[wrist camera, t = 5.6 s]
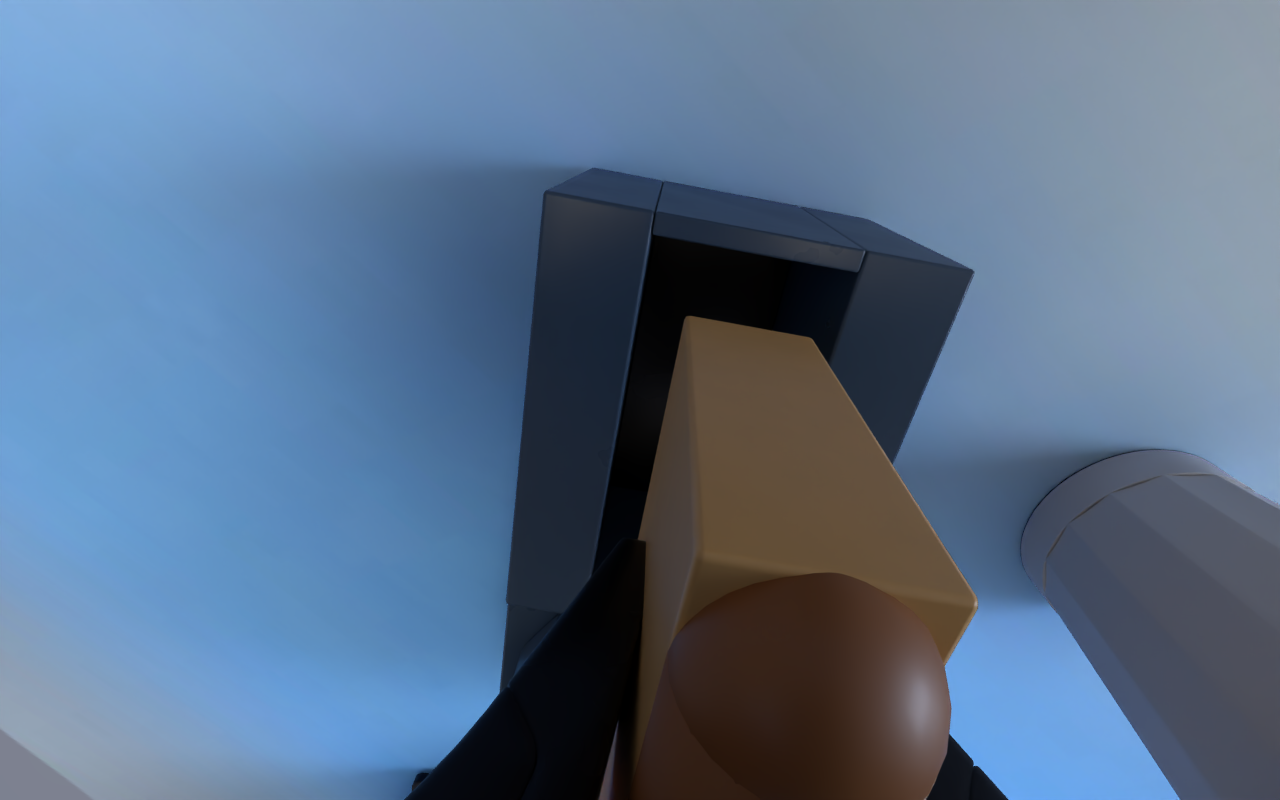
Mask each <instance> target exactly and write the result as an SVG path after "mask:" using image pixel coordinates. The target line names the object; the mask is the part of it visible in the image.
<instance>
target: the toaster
mask: <svg viewBox="0 0 1280 800" xmlns="http://www.w3.org/2000/svg"><path fill="white" fill-rule="evenodd" d="M973 276H974V271H973V270H972V269H970V268H968V267H966V266H964V265H962V264H959V263H957V262H955V261H953V260H951V259H949V258H947V257H945V256H943V255H941V254H939V253H937V252H935V251H933V250H931V249H928V248H926V247H924V246H922V245H920V244H918V243H916V242H914V241H912V240H910V239H908V238H906V237H904V236H902V235H900V234H897V233H895V232H893V231H891V230H889V229H887V228H885V227H883V226H881V225H879V224H877V223H875V222H873V221H871V220H869V219H864V218H859V217H853V216H848V215H843V214H837V213H832V212H827V211H821V210H816V209H811V208H805V207H798V206H795V205H790V204H784V203H779V202H774V201H768V200H763V199H758V198H752V197H747V196H742V195H736V194H731V193H726V192H720V191H715V190H710V189H704V188H699V187H694V186H688V185H683V184H678V183H672V182H667V181H664V183H663V182H662V181H661V180H656V179H651V178H645V177H640V176H635V175H629V174H624V173H619V172H613V171H608V170H603V169H597V168H592V169H590V170H588V171H586V172H584V173H582V174H580V175H577V176H575V177H573V178H571V179H569V180H567V181H565V182H563V183H561V184H559V185H557V186H555V187H553V188H550V189H548V190H546V191H545V192H544V194H543V205H542V216H541V226H540V237H539V248H538V259H537V270H536V281H535V292H534V303H533V314H532V324H531V335H530V346H529V357H528V368H527V379H526V390H525V401H524V411H523V422H522V433H521V444H520V455H519V466H518V477H517V488H516V499H515V509H514V520H513V531H512V542H511V553H510V564H509V575H508V586H507V597H506V602H507V604H509V605H515V606H521V607H527V608H532V609H538V610H544V611H550V612H556V613H561V614H563V612H564V611H565V610H566V608H567V607H568V606H569V605H570V603H571V602H572V601H573V600H574V598H575V597H576V596H577V594H578V593H579V592H580V591H581V589H582V588H583V587H584V585H585V584H586V583H587V582H588V580H589V579H590V578H591V577H592V575H593V574H594V573H595V571H596V570H597V569H598V568H599V566H600V565H601V564H602V563H603V561H604V560H605V559H606V557H607V556H608V555H609V554H610V552H611V551H612V550H613V548H614V547H615V546H616V545H617V543H618V542H619V541H620V540H621V539H622V538H632V539H637V540H638V537H639V532H640V527H641V523H642V518H643V513H644V508H645V504H646V499H647V494H648V489H649V485H650V480H651V475H652V471H653V466H654V461H655V456H656V452H657V447H658V442H659V437H660V433H661V428H662V423H663V418H664V414H665V409H666V404H667V399H668V395H669V390H670V385H671V380H672V376H673V371H674V366H675V362H676V357H677V352H678V347H679V343H680V338H681V333H682V328H683V324H684V319H685V318H686V316H694V317H700V318H705V319H711V320H716V321H722V322H727V323H733V324H738V325H744V326H749V327H755V328H760V329H766V330H771V331H777V332H782V333H788V334H793V335H799V336H804V337H810V338H811V339H812V340H813V341H814V343H815V344H816V346H817V347H818V349H819V351H820V352H821V354H822V355H823V357H824V358H825V360H826V362H827V363H828V365H829V366H830V368H831V369H832V371H833V373H834V374H835V376H836V377H837V379H838V380H839V382H840V383H841V385H842V387H843V388H844V390H845V391H846V393H847V394H848V396H849V398H850V399H851V401H852V402H853V404H854V405H855V407H856V409H857V410H858V412H859V413H860V415H861V416H862V418H863V420H864V421H865V423H866V424H867V426H868V427H869V429H870V431H871V432H872V434H873V435H874V437H875V438H876V440H877V441H878V443H879V445H880V446H881V448H882V449H883V451H884V452H885V454H886V456H887V457H888V459H889V460H890V462H891V463H892V465H893V463H894V460H895V458H896V456H897V453H898V451H899V449H900V446H901V444H902V442H903V439H904V437H905V435H906V432H907V430H908V428H909V425H910V423H911V421H912V418H913V416H914V414H915V411H916V409H917V407H918V404H919V402H920V400H921V397H922V395H923V393H924V390H925V388H926V386H927V383H928V381H929V379H930V376H931V374H932V372H933V369H934V367H935V365H936V362H937V360H938V358H939V355H940V353H941V351H942V348H943V346H944V343H945V341H946V339H947V336H948V334H949V332H950V329H951V327H952V325H953V322H954V320H955V318H956V315H957V313H958V311H959V308H960V306H961V304H962V301H963V299H964V297H965V294H966V292H967V290H968V287H969V285H970V283H971V280H972V278H973Z"/></svg>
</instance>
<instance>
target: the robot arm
mask: <svg viewBox="0 0 1280 800" xmlns="http://www.w3.org/2000/svg"><path fill="white" fill-rule="evenodd" d="M645 557H646V541H643V540H637V539H632V538H622V539H621V540H620V541H619V542H618V543H617V545H616V546H615V547H614V548H613V550H612V551H611V552H610V554H609V555H608V556H607V557H606V559H605V560H604V561H603V563H602V564H601V565H600V566H599V568H598V569H597V570H596V571H595V573H594V574H593V575H592V577H591V578H590V579H589V580H588V582H587V583H586V584H585V585H584V587H583V588H582V589H581V591H580V592H579V593H578V594H577V596H576V597H575V598H574V600H573V601H572V602H571V603H570V605H569V606H568V607H567V608H566V610H565V611H564V612H563V614H562V615H561V616H560V617H559V619H558V620H557V621H556V623H555V624H554V625H553V626H552V628H551V629H550V630H549V631H548V633H547V634H546V635H545V637H544V638H543V639H542V640H541V642H540V643H539V644H538V646H537V647H536V648H535V649H534V651H533V652H532V653H531V654H530V656H529V657H528V658H527V660H526V661H525V662H524V663H523V665H522V666H521V667H520V668H519V670H518V671H517V672H516V674H515V675H514V676H513V677H512V679H511V680H510V681H509V683H508V687H505V688H503V690H502V691H501V692H500V694H499V695H498V696H497V697H496V699H495V700H494V701H493V702H492V704H491V705H490V706H489V708H488V709H487V710H486V711H485V712H484V714H483V715H482V716H481V717H480V718H479V720H478V721H477V722H476V723H475V724H474V726H473V727H472V728H471V729H470V730H469V732H468V733H467V734H466V735H465V736H464V737H463V739H462V740H461V741H460V742H459V743H458V744H457V745H456V746H455V748H454V749H453V750H452V751H451V752H450V753H449V754H448V755H447V756H446V757H445V758H444V759H443V760H442V761H441V762H440V763H439V764H438V765H437V767H436V768H435V769H434V770H433V771H432V772H431V773H430V774H429V773H420V774H418V775H416V778H415V780H414V783H413V785H412V792H411V793H410V794H409V795H408V796H407V797H406V798H405V799H404V800H599V797H600V793H601V789H602V785H603V781H604V776H605V772H606V768H607V764H608V760H609V756H610V752H611V748H612V744H613V740H614V736H615V732H616V728H617V724H618V720H619V716H620V711H621V707H622V703H623V699H624V694H625V690H626V686H627V681H628V677H629V673H630V669H631V664H632V660H633V656H634V652H635V647H636V643H637V639H638V635H639V630H640V626H641V622H642V617H643V607H644V585H645ZM973 765H974V763H973V760H972V759H971V758H970V757H969V755H968V754H967V753H966V752H965V751H964V750H963V749H962V748H961V747H960V745H959V744H958V743H957V742H956V741H955V740H954V739H953V738H952V736H951V735H950V734H949V738H948V748H947V754H946V756H945V759H944V761H943V763H942V766H941V768H940V771H939V773H938V775H937V778H936V782H935V784H934V785H933V787H932V789H931V791H930V793H929V795H928V797H927V798H926V800H1008V799H1007V797H1006V796H1005V795H1004V794H1003V793H1002V792H1001V791H1000V790H999V789H998V788H997V786H996V785H995V784H994V783H993V782H992V781H991V780H990V779H989V778H988V776H987V775H986V774H985V773H984V772H983V771H982V770H981V769H980V768H979V767H978V766H974V767H973Z"/></svg>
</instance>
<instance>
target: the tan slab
mask: <svg viewBox="0 0 1280 800" xmlns="http://www.w3.org/2000/svg"><path fill="white" fill-rule="evenodd" d="M638 540H643V541H646V557H645V585H644V607H643V617H642V622H641V626H640V630H639V635H638V639H637V643H636V647H635V652H634V656H633V660H632V664H631V669H630V673H629V677H628V681H627V686H626V690H625V694H624V699H623V703H622V707H621V711H620V716H619V720H618V724H617V728H616V732H615V736H614V740H613V744H612V748H611V752H610V756H609V760H608V764H607V768H606V772H605V776H604V781H603V785H602V789H601V793H600V797H599V800H926V798H927V797H928V795H929V793H930V791H931V789H932V787H933V785H934V784H935V782H936V778H937V775H938V773H939V771H940V768H941V766H942V763H943V761H944V759H945V756H946V754H947V748H948V738H949V729H950V719H951V702H950V696H949V689H948V683H947V678H946V673H945V665H946V663H947V661H948V660H949V658H950V656H951V654H952V653H953V651H954V649H955V647H956V646H957V644H958V642H959V640H960V639H961V637H962V635H963V633H964V632H965V630H966V628H967V626H968V625H969V623H970V621H971V620H972V618H973V616H974V614H975V613H976V611H977V609H978V600H977V597H976V595H975V594H974V592H973V590H972V589H971V587H970V586H969V584H968V583H967V581H966V579H965V578H964V576H963V575H962V573H961V572H960V570H959V568H958V567H957V565H956V564H955V562H954V561H953V559H952V557H951V556H950V554H949V553H948V551H947V550H946V548H945V547H944V545H943V543H942V542H941V540H940V539H939V537H938V536H937V534H936V532H935V531H934V529H933V528H932V526H931V525H930V523H929V521H928V520H927V518H926V517H925V515H924V514H923V512H922V510H921V509H920V507H919V506H918V504H917V503H916V501H915V499H914V498H913V496H912V495H911V493H910V492H909V490H908V489H907V487H906V485H905V484H904V482H903V481H902V479H901V478H900V476H899V474H898V473H897V471H896V470H895V468H894V467H893V465H892V463H891V462H890V460H889V459H888V457H887V456H886V454H885V452H884V451H883V449H882V448H881V446H880V445H879V443H878V441H877V440H876V438H875V437H874V435H873V434H872V432H871V431H870V429H869V427H868V426H867V424H866V423H865V421H864V420H863V418H862V416H861V415H860V413H859V412H858V410H857V409H856V407H855V405H854V404H853V402H852V401H851V399H850V398H849V396H848V394H847V393H846V391H845V390H844V388H843V387H842V385H841V383H840V382H839V380H838V379H837V377H836V376H835V374H834V373H833V371H832V369H831V368H830V366H829V365H828V363H827V362H826V360H825V358H824V357H823V355H822V354H821V352H820V351H819V349H818V347H817V346H816V344H815V343H814V341H813V340H812V339H811V338H810V337H804V336H799V335H793V334H788V333H782V332H777V331H771V330H766V329H760V328H755V327H749V326H744V325H738V324H733V323H727V322H722V321H716V320H711V319H705V318H700V317H694V316H686V318H685V319H684V324H683V328H682V333H681V338H680V343H679V347H678V352H677V357H676V362H675V366H674V371H673V376H672V380H671V385H670V390H669V395H668V399H667V404H666V409H665V414H664V418H663V423H662V428H661V433H660V437H659V442H658V447H657V452H656V456H655V461H654V466H653V471H652V475H651V480H650V485H649V489H648V494H647V499H646V504H645V508H644V513H643V518H642V523H641V527H640V532H639V537H638Z"/></svg>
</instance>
